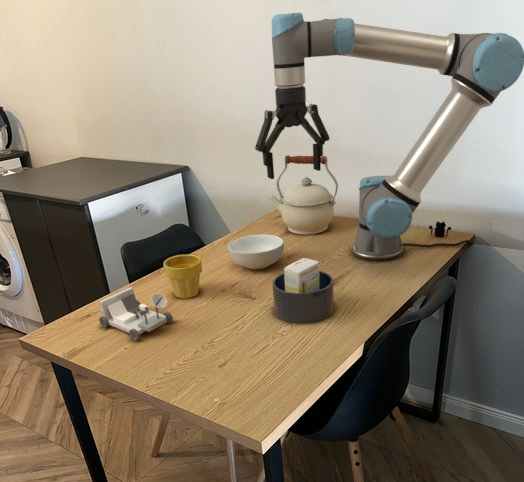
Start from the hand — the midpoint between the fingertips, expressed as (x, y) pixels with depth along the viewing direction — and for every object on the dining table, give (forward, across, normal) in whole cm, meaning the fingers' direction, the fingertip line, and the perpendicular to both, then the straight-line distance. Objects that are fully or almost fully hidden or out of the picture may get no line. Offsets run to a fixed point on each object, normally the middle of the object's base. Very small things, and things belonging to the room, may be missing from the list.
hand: (294, 174), depth 146 cm
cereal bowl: (+29, +8, -13) cm, 33 cm away
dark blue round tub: (+29, +9, +22) cm, 37 cm away
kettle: (+29, -19, -36) cm, 50 cm away
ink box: (+28, +9, +22) cm, 37 cm away
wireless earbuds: (+29, -52, -3) cm, 60 cm away
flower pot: (+29, +33, -4) cm, 44 cm away
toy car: (+29, +49, +9) cm, 58 cm away
